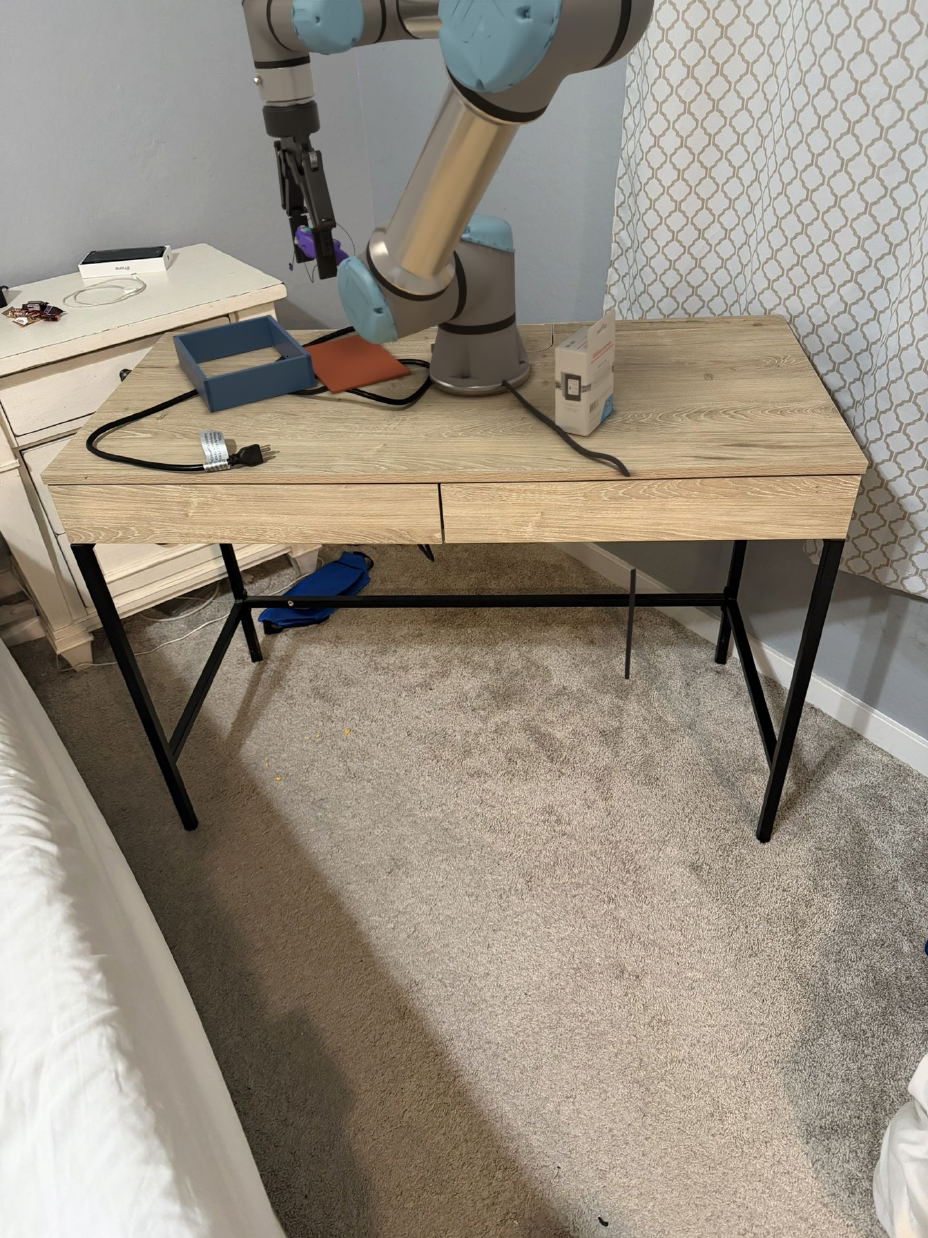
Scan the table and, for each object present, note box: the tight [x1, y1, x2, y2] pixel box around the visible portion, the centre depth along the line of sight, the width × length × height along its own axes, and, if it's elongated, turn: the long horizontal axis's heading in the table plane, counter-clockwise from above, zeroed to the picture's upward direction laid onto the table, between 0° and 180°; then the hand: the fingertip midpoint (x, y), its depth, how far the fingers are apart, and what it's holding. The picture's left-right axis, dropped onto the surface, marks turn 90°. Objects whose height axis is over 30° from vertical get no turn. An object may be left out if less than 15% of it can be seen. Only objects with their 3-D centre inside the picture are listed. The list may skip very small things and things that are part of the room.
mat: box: [303, 334, 412, 395], centre depth 148 cm, size 20×13×1 cm, turn 26°
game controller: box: [288, 217, 356, 284], centre depth 138 cm, size 10×8×10 cm
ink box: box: [554, 308, 617, 437], centre depth 122 cm, size 9×5×15 cm, turn 148°
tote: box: [171, 314, 317, 413], centre depth 146 cm, size 22×17×5 cm
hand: (316, 268), depth 138 cm, fingers closed on game controller, 10 cm apart
